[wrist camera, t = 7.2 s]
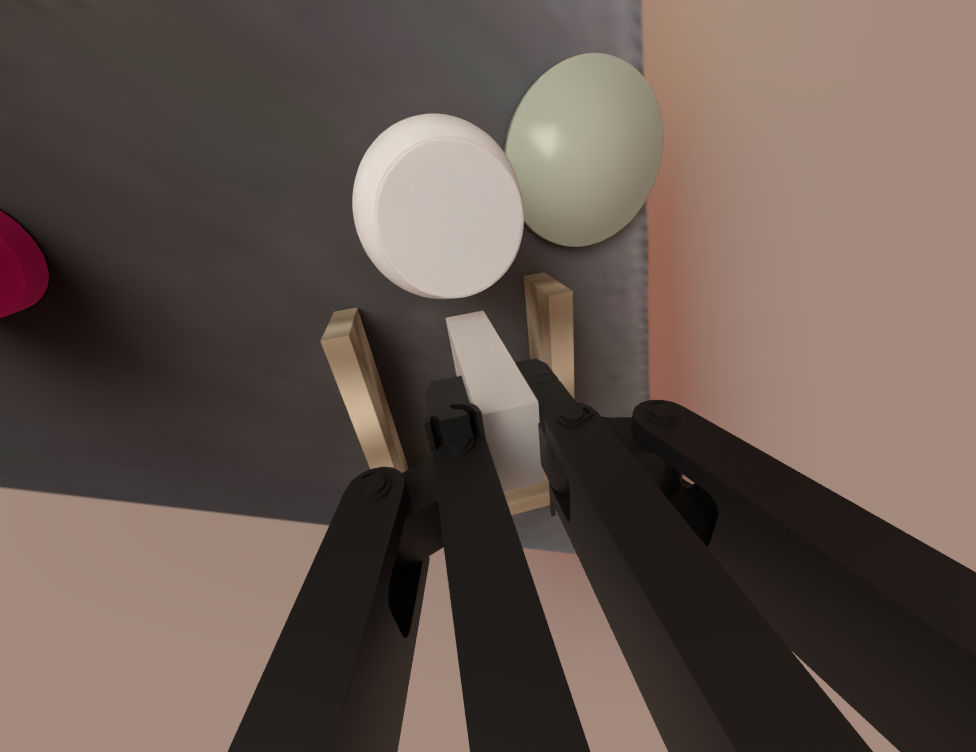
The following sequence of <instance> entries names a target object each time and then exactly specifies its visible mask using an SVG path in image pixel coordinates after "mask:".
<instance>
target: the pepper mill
mask: <svg viewBox="0 0 976 752" xmlns="http://www.w3.org/2000/svg"><path fill="white" fill-rule="evenodd" d="M48 281H49V272H48V268H47V264H46V261H45V257H44V255H43V253H42V252H41V250H40V249H39V247H38V246H37V244H36V242H35V241H34V239H33V238H32V237H31V236H30V235H29V234H28V233H27V232H26V231H25V230H24V229H23V228H22V227H21V226H20V225H19V224H18V223H17V222H16V221H14V220H13V219H12V218H10V217H9V216H7V215H6V214H5V213H3V212H2V211H0V318H1V317H4V316H7V315H10V314H13V313H16V312H19V311H21V310H24V309H26V308H28V307H30V306H32V305H34V304H36V303H37V302H38V301H39V300H40V299H41V298H42V297H43V295H44V293H45V291H46V289H47V287H48Z"/></svg>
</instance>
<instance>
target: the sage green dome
mask: <svg viewBox="0 0 976 752" xmlns="http://www.w3.org/2000/svg"><path fill="white" fill-rule="evenodd" d="M662 150H663V125H662V119H661V113H660V109H659V106H658V103H657V100H656V98H655V95H654V93H653V91H652V89H651V87H650V86H649V84H648V82H647V81H646V79H645V78H644V77H643V76H642V75H641V73H640V72H639V71H638V70H637V69H635V68H634V67H633V66H632V65H631V64H629V63H628V62H626V61H624V60H622V59H621V58H618V57H615V56H612V55H609V54H603V53H586V54H581V55H576V56H574V57H571V58H569V59H566V60H564V61H562V62H561V63H559V64H557V65H555V66H554V67H552V68H551V69H549V70H548V71H547V72H545V73H544V74H543V75H542V76H540V77H539V78H538V79H537V80H536V81H535V82H534V83H533V84H532V85H531V86H530V87H529V89H528V90H527V91H526V93H525V94H524V95H523V97H522V98H521V100H520V102H519V103H518V105H517V107H516V109H515V111H514V113H513V116H512V118H511V120H510V123H509V126H508V130H507V133H506V137H505V143H504V150H503V151H504V153H505V154H506V156H507V157H508V159H509V161H510V163H511V165H512V167H513V169H514V171H515V173H516V176H517V179H518V182H519V186H520V190H521V195H522V204H523V213H524V224H525V225H526V226H527V227H528V228H529V229H530V230H532V231H533V232H534V233H536V234H537V235H538V236H540V237H542V238H544V239H546V240H548V241H551V242H553V243H556V244H559V245H564V246H570V247H580V246H588V245H592V244H596V243H598V242H601V241H603V240H605V239H607V238H609V237H611V236H613V235H614V234H616V233H617V232H618V231H620V230H621V229H622V228H623V227H625V226H626V225H627V224H628V223H629V222H630V221H631V220H632V219H633V218H634V216H635V215H636V214H637V213H638V212H639V210H640V209H641V207H642V206H643V205H644V203H645V201H646V199H647V198H648V196H649V194H650V192H651V190H652V188H653V185H654V183H655V180H656V177H657V174H658V171H659V167H660V163H661V157H662Z"/></svg>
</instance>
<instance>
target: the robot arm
mask: <svg viewBox="0 0 976 752" xmlns="http://www.w3.org/2000/svg"><path fill="white" fill-rule="evenodd" d="M446 323H447V329H448V334H449V339H450V344H451V349H452V354H453V359H454V364H455V369H456V374H457V377H453V378H448V379H443V380H439V381H434V382H431V384H430V386H429V387H428V389H427V391H426V395H427V402H428V410H429V414H428V415H427V416H426V418H425V423H424V426H425V429H426V433H427V437H428V440H429V444H430V448H431V451H430V453H429V454H428V456H427V457H426V458H425V459H424V460H423V461H422V462H421V463H419V464H418V465H416V466H414V467H413V468H411V469H409V470H407V471H405V472H403V473H401V471H399V470H397V469H395V468H393V467H383V466H382V467H378V468H373V469H370V470H368V471H366V472H364V473H362V474H360V475H359V476H358V477H356V478H355V479H354V480H353V481H352V482H351V483H350V484H349V486H348V487H347V489H346V490H345V492H344V494H343V496H342V499H341V501H340V503H339V505H338V508H337V510H336V512H335V514H334V516H333V519H332V521H331V523H330V525H329V528H328V530H327V532H326V535H325V537H324V539H323V541H322V543H321V545H320V548H319V550H318V552H317V554H316V556H315V559H314V561H313V563H312V565H311V568H310V570H309V572H308V574H307V577H306V579H305V581H304V583H303V585H302V588H301V590H300V592H299V594H298V597H297V599H296V601H295V603H294V605H293V608H292V610H291V612H290V614H289V617H288V619H287V621H286V623H285V626H284V628H283V630H282V632H281V634H280V637H279V639H278V641H277V643H276V645H275V648H274V650H273V652H272V654H271V657H270V659H269V661H268V663H267V665H266V668H265V670H264V672H263V674H262V677H261V679H260V681H259V683H258V685H257V688H256V690H255V692H254V694H253V697H252V699H251V701H250V703H249V706H248V708H247V710H246V712H245V714H244V717H243V719H242V721H241V723H240V726H239V728H238V730H237V732H236V734H235V737H234V739H233V741H232V743H231V746H230V748H229V750H228V752H397V750H398V745H399V739H400V733H401V727H402V721H403V715H404V709H405V703H406V697H407V691H408V685H409V679H410V673H411V668H412V662H413V655H414V649H415V644H416V637H417V632H418V626H419V619H420V614H421V608H422V602H423V596H424V590H425V584H426V578H427V571H428V566H429V556H430V555H431V554H433V553H435V552H436V551H438V550H440V549H441V548H443V547H444V552H445V560H446V567H447V576H448V583H449V591H450V599H451V607H452V613H453V622H454V629H455V638H456V645H457V653H458V661H459V669H460V677H461V684H462V692H463V700H464V708H465V716H466V723H467V731H468V739H469V747H470V752H590V749H589V746H588V743H587V740H586V737H585V735H584V731H583V728H582V725H581V722H580V719H579V716H578V713H577V710H576V707H575V704H574V701H573V698H572V695H571V692H570V689H569V686H568V683H567V680H566V677H565V674H564V671H563V668H562V666H561V663H560V660H559V656H558V653H557V650H556V647H555V645H554V641H553V639H552V635H551V632H550V629H549V626H548V624H547V620H546V618H545V614H544V611H543V608H542V605H541V603H540V599H539V596H538V594H537V591H536V587H535V585H534V581H533V579H532V575H531V573H530V570H529V567H528V564H527V561H526V558H525V555H524V552H523V549H522V546H521V543H520V540H519V537H518V534H517V531H516V528H515V525H514V522H513V519H512V516H511V513H510V510H509V507H508V504H507V501H506V498H505V495H504V492H507V491H511V490H515V489H519V488H523V487H526V486H530V485H534V484H538V483H542V482H544V481H543V470H544V472H545V474H546V476H547V478H548V480H549V497H550V511H551V516H555V508H556V510H557V512H558V514H559V517H560V519H561V521H562V523H563V525H564V527H565V530H566V532H567V534H568V536H569V538H570V540H571V543H572V545H573V547H574V549H575V551H576V553H577V556H578V557H579V559H580V562H581V564H582V566H583V568H584V570H585V573H586V575H587V577H588V579H589V581H590V583H591V586H592V588H593V590H594V592H595V594H596V597H597V599H598V601H599V603H600V605H601V607H602V610H603V612H604V614H605V616H606V618H607V620H608V623H609V624H610V627H611V629H612V631H613V633H614V636H615V638H616V640H617V642H618V644H619V646H620V648H621V650H622V653H623V655H624V657H625V659H626V661H627V663H628V666H629V668H630V670H631V672H632V674H633V677H634V679H635V681H636V683H637V685H638V687H639V690H640V692H641V694H642V696H643V698H644V700H645V702H646V705H647V707H648V709H649V711H650V713H651V715H652V718H653V720H654V722H655V724H656V726H657V729H658V731H659V733H660V735H661V737H662V739H663V741H664V744H665V746H666V748H667V750H668V752H873V751H872V750H871V749H870V748H869V746H868V745H867V744H866V743H865V741H864V740H863V739H862V738H861V736H860V735H859V734H858V733H857V731H856V730H855V729H854V728H853V727H852V725H851V724H850V723H849V722H848V720H847V719H846V718H845V717H844V716H843V714H842V713H841V712H840V711H839V709H838V708H837V707H836V706H835V704H834V703H833V702H832V701H831V699H830V698H829V697H828V696H827V694H826V693H825V692H824V691H823V690H822V688H821V687H820V686H819V685H818V683H817V682H816V681H815V680H814V678H813V677H812V676H811V675H810V674H809V672H808V671H807V670H806V669H805V668H804V666H803V665H802V664H801V663H800V661H799V660H798V659H797V658H796V656H795V655H794V654H793V653H792V652H794V653H795V654H796V655H797V656H798V657H799V658H800V659H801V660H802V661H803V662H804V663H806V665H807V666H809V667H810V668H811V669H812V670H813V671H814V672H815V673H816V674H817V675H818V676H819V677H820V678H821V679H823V680H824V681H825V682H826V683H827V684H828V685H829V686H830V687H831V688H832V689H833V690H834V691H836V692H837V693H838V694H839V695H840V696H841V697H842V698H843V699H844V700H845V701H846V702H847V703H848V704H849V705H850V706H852V707H853V708H854V709H855V710H856V711H857V712H858V713H859V714H860V715H861V716H862V717H863V718H865V719H866V720H867V721H868V722H869V723H870V724H871V725H872V726H873V727H874V728H875V729H876V730H877V731H878V732H880V733H881V734H882V735H883V736H884V737H885V738H886V739H887V740H888V741H889V742H890V743H891V744H892V745H894V746H895V747H896V748H897V749H898V750H899V751H900V752H976V572H974V571H972V570H971V569H969V568H967V567H965V566H964V565H962V564H960V563H958V562H957V561H955V560H953V559H951V558H950V557H948V556H946V555H944V554H942V553H941V552H939V551H937V550H935V549H934V548H932V547H930V546H928V545H927V544H925V543H923V542H921V541H919V540H918V539H916V538H914V537H912V536H911V535H909V534H907V533H905V532H904V531H902V530H900V529H898V528H897V527H895V526H893V525H891V524H890V523H888V522H886V521H884V520H882V519H881V518H879V517H877V516H875V515H874V514H872V513H870V512H868V511H867V510H865V509H863V508H861V507H860V506H858V505H856V504H854V503H853V502H851V501H849V500H847V499H845V498H844V497H842V496H840V495H838V494H837V493H835V492H833V491H831V490H830V489H828V488H826V487H824V486H822V485H821V484H819V483H817V482H815V481H814V480H812V479H810V478H808V477H806V476H805V475H803V474H801V473H800V472H798V471H796V470H794V469H793V468H791V467H789V466H787V465H786V464H784V463H782V462H780V461H779V460H777V459H775V458H773V457H771V456H770V455H768V454H766V453H764V452H763V451H761V450H759V449H757V448H756V447H754V446H752V445H750V444H749V443H747V442H745V441H743V440H741V439H740V438H738V437H736V436H734V435H733V434H731V433H729V432H727V431H725V430H724V429H722V428H720V427H718V426H717V425H715V424H713V423H712V422H710V421H708V420H706V419H704V418H703V417H701V416H699V415H697V414H696V413H694V412H692V411H690V410H689V409H687V408H685V407H683V406H681V405H679V404H676V403H674V402H670V401H665V400H649V401H645V402H642V403H640V404H639V405H637V406H636V407H635V409H634V411H633V416H632V417H620V418H610V417H601V416H600V415H599V414H598V412H597V411H595V410H594V409H593V408H592V407H590V406H588V405H585V404H582V403H577V402H576V401H575V400H574V398H573V397H572V396H571V394H570V393H569V392H568V391H567V389H566V388H565V387H564V385H563V384H562V383H561V381H559V379H558V377H557V376H556V375H555V374H554V372H553V371H552V370H551V368H550V367H549V366H548V364H546V363H544V362H542V361H540V360H538V359H536V358H535V359H530V360H526V361H521V362H516V363H515V362H514V361H513V359H512V357H511V356H510V354H509V352H508V351H507V349H506V347H505V346H504V344H503V342H502V341H501V339H500V337H499V336H498V334H497V333H496V331H495V329H494V328H493V326H492V324H491V323H490V321H489V319H488V318H487V316H486V314H485V313H484V311H478V312H473V313H468V314H463V315H458V316H453V317H448V318H446ZM683 475H685V476H686V477H688V478H689V479H690V480H691V481H693V482H694V484H690V483H689V482H687V481H685V480H684V479H683Z"/></svg>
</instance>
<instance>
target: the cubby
mask: <svg viewBox="0 0 976 752" xmlns="http://www.w3.org/2000/svg"><path fill="white" fill-rule="evenodd" d="M524 288H525V300H526V313H527V325H528V338H529V350H530V359H535V358H536V359H538V360H540V361H542V362H544V363H546V364H548V366H549V367H550V368H551V370H552V371H553V372H554V374H555V375H556V376H557V377H558V379H559V381H561V383H562V384H563V385H564V387H565V388H566V389H567V391H568V392H569V393H570V394H571V396H572V397H573V398H574V339H573V291H572V290H570V289H569V288H567V287H566V286H564V285H563V284H561V283H560V282H558V281H557V280H555V279H554V278H552V277H551V276H549V275H548V274H546V273H544V272H542V273H537V274H531V275H526V276H524ZM321 343H322V346H323V349H324V351H325V354H326V356H327V359H328V361H329V364H330V367H331V369H332V372H333V374H334V377H335V379H336V382H337V385H338V387H339V390H340V392H341V395H342V397H343V400H344V403H345V405H346V408H347V410H348V413H349V415H350V418H351V421H352V423H353V426H354V428H355V431H356V434H357V436H358V439H359V441H360V444H361V446H362V449H363V452H364V454H365V457H366V459H367V462H368V464H369V467H370V469H373V468H378V467H382V466H383V467H393V468H395V469H397V470H399V471H401V473H403V472H405V471H407V470H409V468H408V465H407V462H406V459H405V456H404V453H403V450H402V446H401V443H400V440H399V437H398V434H397V431H396V428H395V425H394V421H393V418H392V415H391V412H390V409H389V406H388V403H387V399H386V396H385V393H384V390H383V387H382V384H381V381H380V377H379V374H378V371H377V368H376V365H375V362H374V359H373V355H372V352H371V349H370V346H369V343H368V340H367V337H366V333H365V330H364V327H363V324H362V321H361V318H360V315H359V311H358V308H352V309H346V310H341V311H336V312H334V313H333V315H332V317H331V320H330V322H329V324H328V326H327V328H326V330H325V333H324V335H323V337H322V339H321ZM543 481H544V482H542V483H538V484H534V485H530V486H526V487H523V488H519V489H515V490H511V491H507V492H504V495H505V498H506V501H507V504H508V507H509V510H510V513H511V515H514V514H518V513H522V512H525V511H529V510H533V509H536V508H540V507H544V506H548V505H550V497H549V480H548V478H547V476H546V474H545V472H544V470H543Z"/></svg>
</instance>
